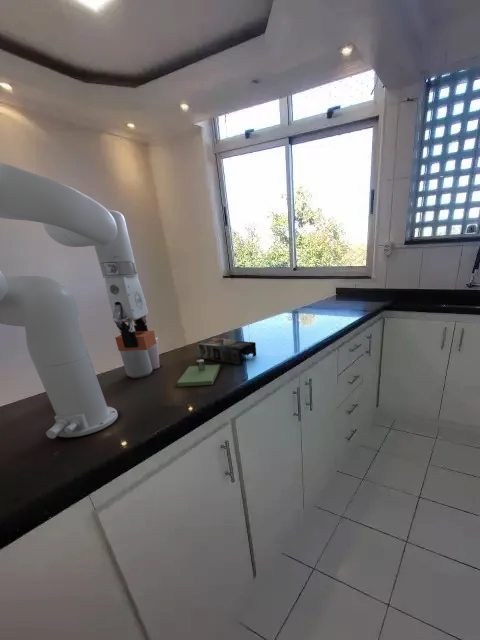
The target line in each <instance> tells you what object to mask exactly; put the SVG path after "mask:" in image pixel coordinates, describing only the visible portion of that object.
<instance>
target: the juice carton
mask: <svg viewBox="0 0 480 640" xmlns="http://www.w3.org/2000/svg"><path fill="white" fill-rule="evenodd" d="M256 345H257V343H256V342H255V341H246V340H245V341H244V340H236V339H226V338H221V337H220V338H219V337H212V338H210V339H209V338H208V339H206V340H204V341H202V342H200V343H197V348H198V349H197V350H198V354H199V355H198V356H199V359H200V360H201V359H202V360H210V361H214V362H215V361H216V362H220V363H225V364H231V365H237V366H242V365H243V356H247V357H248V356H249V355H252V358H255V357H257V348H256Z"/></svg>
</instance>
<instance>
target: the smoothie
mask: <svg viewBox="0 0 480 640" xmlns="http://www.w3.org/2000/svg"><path fill="white" fill-rule="evenodd" d="M155 339H156V344H155V345H153V346H152V347H150V348H149V349H148V350H147V351H148V354H149V358H150V362H151V366H152V370H156V369H159V368H160V355H159V354H160V353H159V338H158V336H157V337H156V336H155Z"/></svg>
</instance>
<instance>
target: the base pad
mask: <svg viewBox="0 0 480 640" xmlns="http://www.w3.org/2000/svg"><path fill="white" fill-rule="evenodd" d="M220 370H221V364H205V359H201V358H200V359H197V360H196V365H189V366H188V367H187V368H186V369H185V371H184V373H183V374H182V375H181V376H180V378H179V379H178V380H177V381H176V386H177V387H194V386H210V385H211V386H212V385H213V384H214V382H215V380H216V378H217V377H218V374H219V372H220Z"/></svg>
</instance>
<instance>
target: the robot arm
mask: <svg viewBox="0 0 480 640" xmlns="http://www.w3.org/2000/svg"><path fill="white" fill-rule="evenodd" d="M0 218H2V219H7V220H16V221H26V222H27V221H28V222H34V223H35V222H36V223H40V224H43V228H44V230H45V232H46V234H47V235H48V236H49V237H50V238H51V240H53V241H55V242H57V243H58V244H60V245H63V246H64V247H65V246H66V247H68V248H69V247H70V248H84V247H86V248H87V247H94V249H95V254H96V257H97V260H98V262H99V263H98V264H99V267H100V271H101V274H102V278H103V279H104V280H105V287H106V293H107V297H108V301H109V306H110V310H111V313H112V321H113V322H114V324H115V325H116V328H118V332H119V333H120V335H121V336H122V339H123V343H124V347H125V348H136V347H138V342H137V338H136V334H135V331H149V329H148V321H147V319H146V318H147V315H148V314H149V309H148V305H147V301H146V298H145V294H144V290H143V287H142V284H141V282H140V280H139V274H138V269H137V266H136V261H135V257H134V253H133V248H132V244H131V239H130V235H129V232H128V227H127V223H126V222H127V221H126V219H125V217H124V214H122V213H121V212H120V211H117V210H113V209H107V207H105V206H104V205H102V204H101V203H100V202H98V201H97V200H95V199H93V198H92V197H90V196H88V195H86V194H84V193H83V192H81V191H79V190H77V189H75V188H73V187H71V186H68V185H67V184H64V183H62V182H60V181H57V180H54V179H52V178H49V177H45V176H43V175H40V174H37V173H33V172H31V171H27V170H25V169H22V168H20V167H16V166H13V165H10V164H6V163H3V162H0ZM133 323H134V325H133ZM0 325H6V326H12V327H23V328H24V330H25V339H26V341H25V342H26V347H27V352H28V353H29V357H30V359H31V361H32V364H33V365H34V368H35V370H36V372H37V375H38V377H39V379H40V381H41V384H42V386H43V388H44V390H45V392H46V395H47V398H48V399H49V403H50V404H51V406H52V408H53V411H54V413H55V416H54V417H53V419H54V421H55V422H54V424H53V426H52V427H50V428H49V429H48V430H47V431H46V432H45V435H46V437H47V438H49V439H56V438H58V437H59V438H60V437H61V438H77V437H82V436H87V435H91V434H95V433H97V432H99V431H102V430H104V429H106V428H107V427H109V426H111V425H112V424H113V423H114V422H115V421H116V420H117V419H118V418H119V413H118V410H117V409H116V408H114V407H111V406H108V404H107V402H106V399H105V396H104V393H103V391H102V388H101V385H100V382H99V378H98V376H97V373H96V369H95V367H94V365H93V362H92V359H91V357H90V354H89V351H88V348H87V345H86V341H85V339H84V335H83V330H82V327H81V326H82V325H81V321H80V313H79V306H78V303H77V300H76V298H75V296H74V294H73V293H72V292H71V290H70V289H69V288H68V287H67V286H66V285H65V284H63V283H62V282H60V281H57V280H56V279H54V278H51V277H47V276H39V275H15V276H14V275H12V276H10V275H8V276H7V275H5V274H3V272H2V271H1V270H0ZM133 329H134V330H133Z"/></svg>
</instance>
